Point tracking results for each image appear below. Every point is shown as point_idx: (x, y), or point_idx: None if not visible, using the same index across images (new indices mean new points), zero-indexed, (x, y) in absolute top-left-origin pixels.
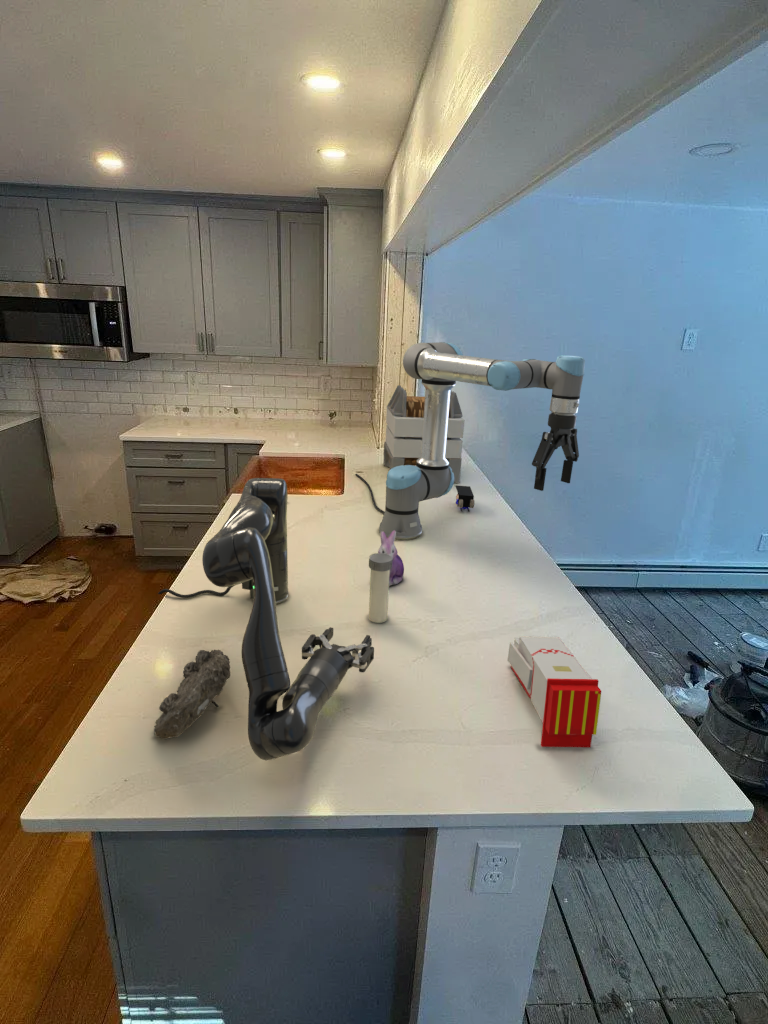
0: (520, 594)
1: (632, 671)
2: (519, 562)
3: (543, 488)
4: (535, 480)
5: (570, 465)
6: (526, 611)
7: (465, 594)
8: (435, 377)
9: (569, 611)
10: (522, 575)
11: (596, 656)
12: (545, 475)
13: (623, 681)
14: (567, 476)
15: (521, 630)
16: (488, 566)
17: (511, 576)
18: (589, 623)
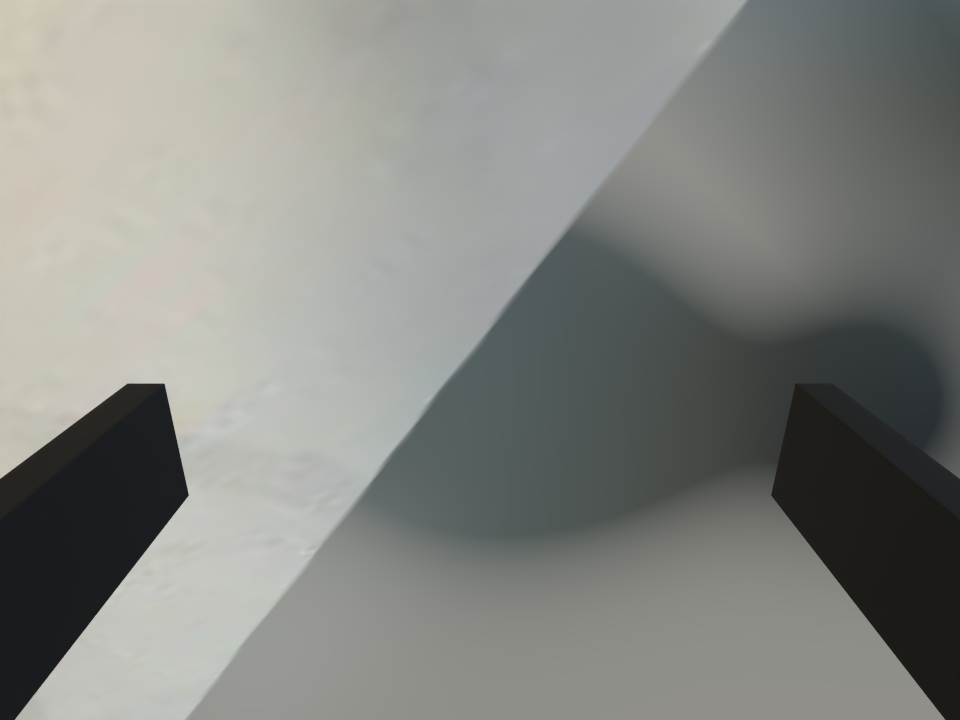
0: (235, 304)
1: (194, 700)
2: (497, 85)
3: (171, 512)
4: (47, 455)
5: (957, 715)
6: None
7: (6, 160)
8: None
9: (300, 478)
10: (385, 195)
11: (163, 633)
12: (51, 668)
13: (139, 704)
14: (826, 525)
15: None
16: (312, 10)
17: (330, 169)
18: (294, 548)
